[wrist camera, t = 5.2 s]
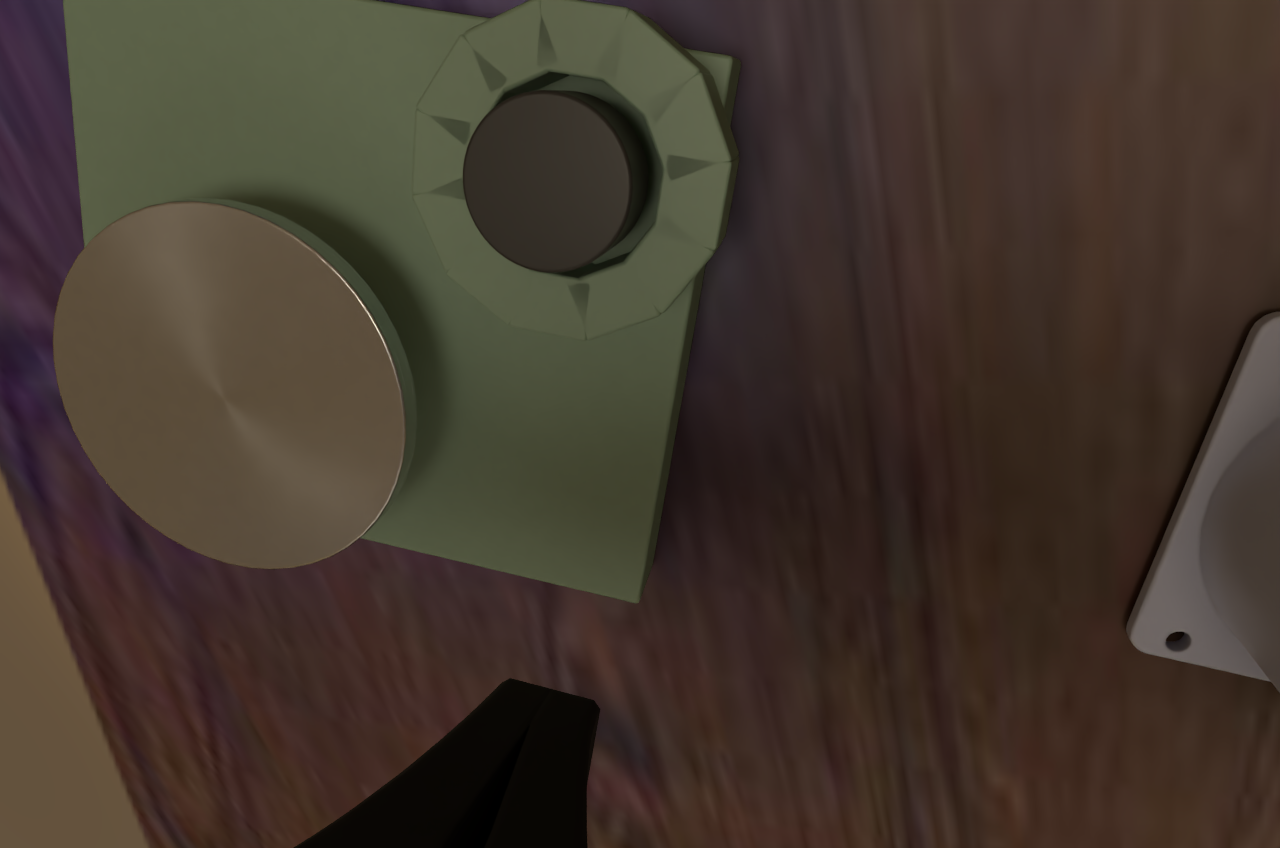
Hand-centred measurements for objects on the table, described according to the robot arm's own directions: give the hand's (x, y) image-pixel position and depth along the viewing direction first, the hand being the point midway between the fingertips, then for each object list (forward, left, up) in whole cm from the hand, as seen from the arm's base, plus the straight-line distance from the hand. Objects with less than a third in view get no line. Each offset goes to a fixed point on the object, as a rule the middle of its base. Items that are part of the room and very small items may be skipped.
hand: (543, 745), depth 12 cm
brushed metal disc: (+9, -1, -6) cm, 11 cm away
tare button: (+2, -7, -7) cm, 10 cm away
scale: (+7, -3, -10) cm, 13 cm away
